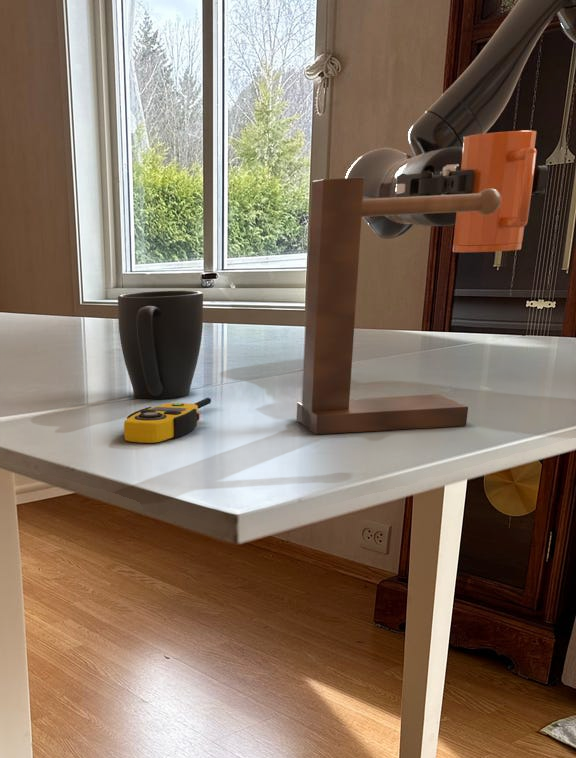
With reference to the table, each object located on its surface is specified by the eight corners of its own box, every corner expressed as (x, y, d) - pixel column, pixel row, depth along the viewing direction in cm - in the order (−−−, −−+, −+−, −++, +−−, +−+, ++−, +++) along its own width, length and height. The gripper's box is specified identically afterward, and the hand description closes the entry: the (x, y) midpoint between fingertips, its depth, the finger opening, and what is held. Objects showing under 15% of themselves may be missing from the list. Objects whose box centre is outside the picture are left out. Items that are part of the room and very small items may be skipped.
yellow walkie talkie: (110, 417, 72) (184, 386, 84) (111, 441, 73) (185, 407, 85) (166, 420, 70) (234, 388, 82) (167, 445, 71) (234, 409, 83)
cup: (442, 251, 92) (453, 139, 88) (502, 248, 92) (516, 135, 88) (486, 253, 83) (501, 128, 79) (554, 250, 83) (572, 124, 79)
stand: (458, 410, 78) (485, 173, 70) (490, 424, 72) (523, 168, 65) (296, 420, 77) (306, 182, 70) (315, 434, 72) (329, 177, 64)
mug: (100, 408, 86) (96, 301, 82) (132, 387, 97) (129, 291, 93) (186, 409, 84) (185, 299, 80) (209, 387, 95) (209, 289, 91)
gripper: (373, 153, 98) (434, 138, 83) (504, 146, 99) (589, 130, 83) (367, 229, 101) (425, 229, 86) (495, 222, 102) (575, 221, 86)
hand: (506, 180), depth 85 cm, fingers closed on cup, 6 cm apart
